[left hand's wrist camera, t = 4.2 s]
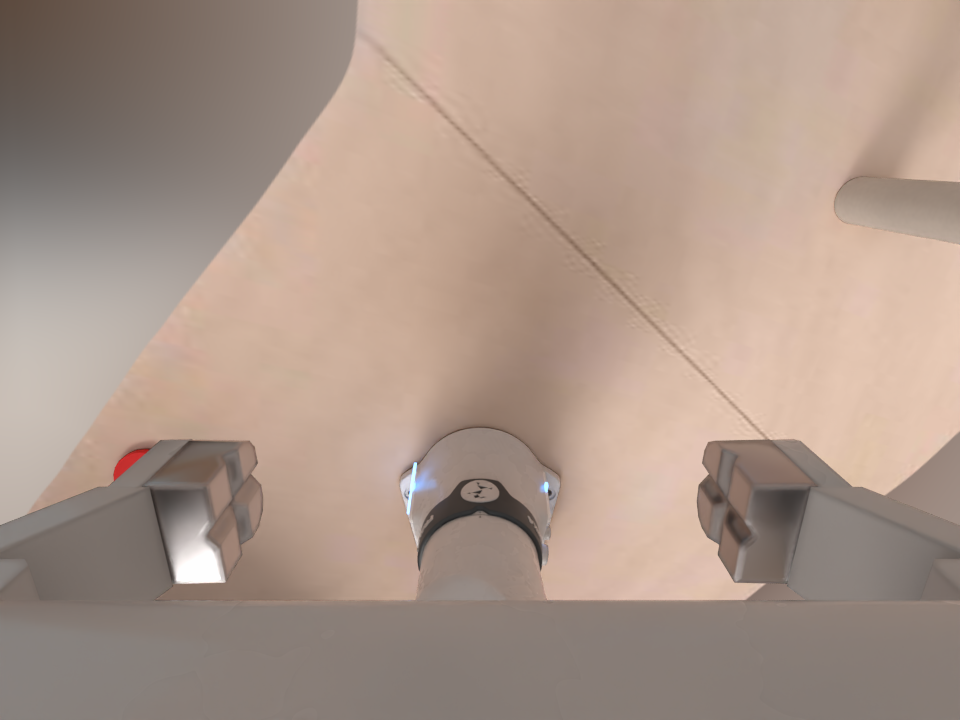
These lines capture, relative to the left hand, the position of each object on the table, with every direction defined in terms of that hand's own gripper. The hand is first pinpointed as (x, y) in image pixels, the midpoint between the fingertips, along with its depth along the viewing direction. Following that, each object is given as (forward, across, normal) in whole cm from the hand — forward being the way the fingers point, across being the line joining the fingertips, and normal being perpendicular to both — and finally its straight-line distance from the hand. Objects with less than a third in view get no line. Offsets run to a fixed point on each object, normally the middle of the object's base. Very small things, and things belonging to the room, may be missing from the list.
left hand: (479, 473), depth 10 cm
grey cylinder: (+48, +37, +1) cm, 61 cm away
